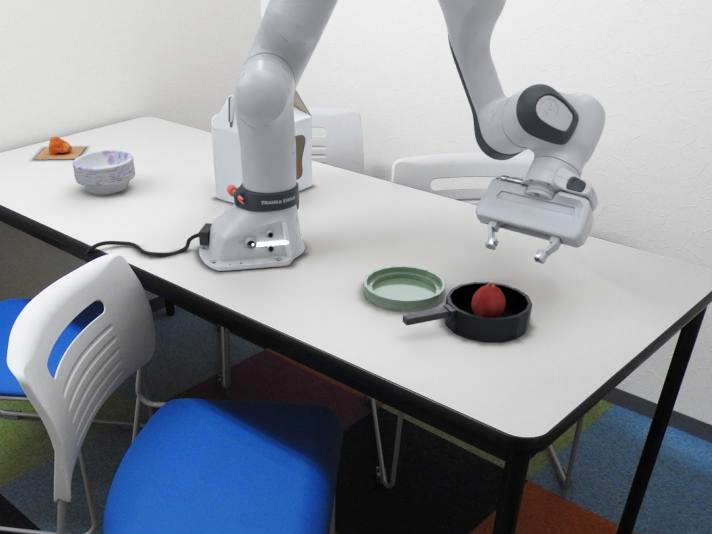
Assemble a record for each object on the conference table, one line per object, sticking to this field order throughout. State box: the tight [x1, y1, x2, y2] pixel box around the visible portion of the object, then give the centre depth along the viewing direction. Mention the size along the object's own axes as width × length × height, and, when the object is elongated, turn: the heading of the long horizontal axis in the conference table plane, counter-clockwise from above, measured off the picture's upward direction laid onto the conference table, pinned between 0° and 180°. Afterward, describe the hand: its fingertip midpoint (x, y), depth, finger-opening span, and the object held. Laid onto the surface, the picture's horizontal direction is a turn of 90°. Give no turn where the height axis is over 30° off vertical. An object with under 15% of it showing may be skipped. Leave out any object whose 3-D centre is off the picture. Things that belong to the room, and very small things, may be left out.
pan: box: [402, 281, 533, 344], centre depth 135 cm, size 23×14×4 cm, turn 109°
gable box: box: [210, 89, 313, 204], centre depth 188 cm, size 22×13×28 cm, turn 139°
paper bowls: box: [72, 149, 136, 196], centre depth 198 cm, size 15×15×8 cm
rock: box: [34, 136, 86, 161], centre depth 226 cm, size 12×12×4 cm
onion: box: [471, 280, 506, 318], centre depth 135 cm, size 6×6×8 cm
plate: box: [362, 265, 447, 311], centre depth 147 cm, size 15×15×2 cm
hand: (513, 254), depth 136 cm, fingers open, 8 cm apart
